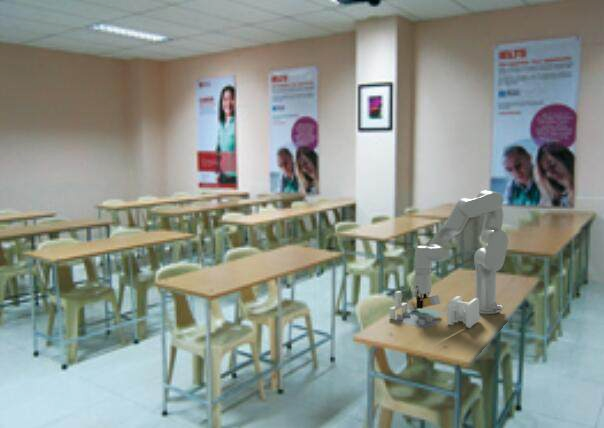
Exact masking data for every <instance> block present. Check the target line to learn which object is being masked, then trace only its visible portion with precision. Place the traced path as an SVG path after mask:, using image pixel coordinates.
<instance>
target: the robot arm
mask: <svg viewBox="0 0 604 428" xmlns="http://www.w3.org/2000/svg"><path fill="white" fill-rule="evenodd" d="M503 203H504V198H503V195H501V194H500V193H499V192H498V191H493V190H487V189H486V190H482V191H479V192H478V194H477V197H475V198H464V197H463V198H460V199H458V201H457V202H456V203H455V205H454V207H453V209H452V210H451V212H450V214H449V216H448V218H447V220H445V222H444V224H442V226H441V227H440V228H439V229H438V231H436V232H435V234H434V236H433V237H432V239H431V241H430V242H429V243H428V245H417V246H416V247H415V251H414V252H415V253H414V254H415V257H414V258H415V259H414V277H413V281H412V283H413V284H412V294H413V297H414V298H415V299H416V300H415V301H417V308H421V309H422V308H424V307H423V301H422V299H425V298H429V297H430V293H431V292H432V275H431V274H432V268H431V267H432V262H437V263H438V262H439V263H440V262H445V261H446V260H447V259H448V258H449V256H450V255H449V250H448V249H447V248H446V247H445V246H446V244H447V243H448V242H449V241H450V240H451V238H453V237H454V236H456V235H458V234H460V233H461V232H462V231H463V229H464V227H465V225H466V224H467V222H468V220H469V219H470V218H476V217H479V216H482V215H484V219H483V224H482V228H481V234H480V241H481V242H482V243H483V245H486V247H480V248H478V249H477V250H476V251H475V253H474V255H473V257H474V258H473V260H474V261H473V262H474V268H475V269H474V270H475V298H478V299H479V314H483V315H493V314H497V313H499V312H501V311H502V312H503V311H504V306H503V305H500V304H498V301H497V300H496V299H497V296H496V295H497V293H496V292H497V274H496V273H497V272H496V271H499V270H501V268H502V267H503V265H504V263H505V260H506V255H507V251H508V245H509V237H508V234H507V233H506V231H504V230H503V229H502V228H503V222H504V211H503V210H504V209H503V207H502V206H503Z"/></svg>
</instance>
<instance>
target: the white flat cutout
mask: <svg viewBox="0 0 604 428" xmlns="http://www.w3.org/2000/svg"><path fill="white" fill-rule="evenodd" d="M402 293H403V292H402V291H400V290H396V291H394V306H391V307H389V319H395V317H396V311H397V310H399V309H401V314H403V313H404V314H405V311H407V309H408V303H407V302H403V295H402Z"/></svg>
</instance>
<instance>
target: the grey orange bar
mask: <svg viewBox="0 0 604 428" xmlns="http://www.w3.org/2000/svg"><path fill="white" fill-rule="evenodd" d="M439 297H440V296H439V295H434V296H433V295H431V296H429V298H425V299H422V301H423V308H427V307H431V306H432V307H433V306H437V305H440V304H441V300H440V298H439ZM407 305H408V307H409V308H408V309H410V311H412V310H416V309H419V308H417V300H413V301H409V302H408V303H407Z"/></svg>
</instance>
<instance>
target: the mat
mask: <svg viewBox="0 0 604 428" xmlns="http://www.w3.org/2000/svg"><path fill="white" fill-rule="evenodd" d="M407 311H408V312H410V314H411V315H416V316H420V317H425V318H426V316H430V317H432V319H433V320H436V319H437V318H439V317H441V316H443V315H447V312H443V311H439V310H436V309H435V310H434V309H429V308H427V307H423V308H422V309H421V308H419V309H416V310H412V311H410V308H407Z"/></svg>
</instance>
